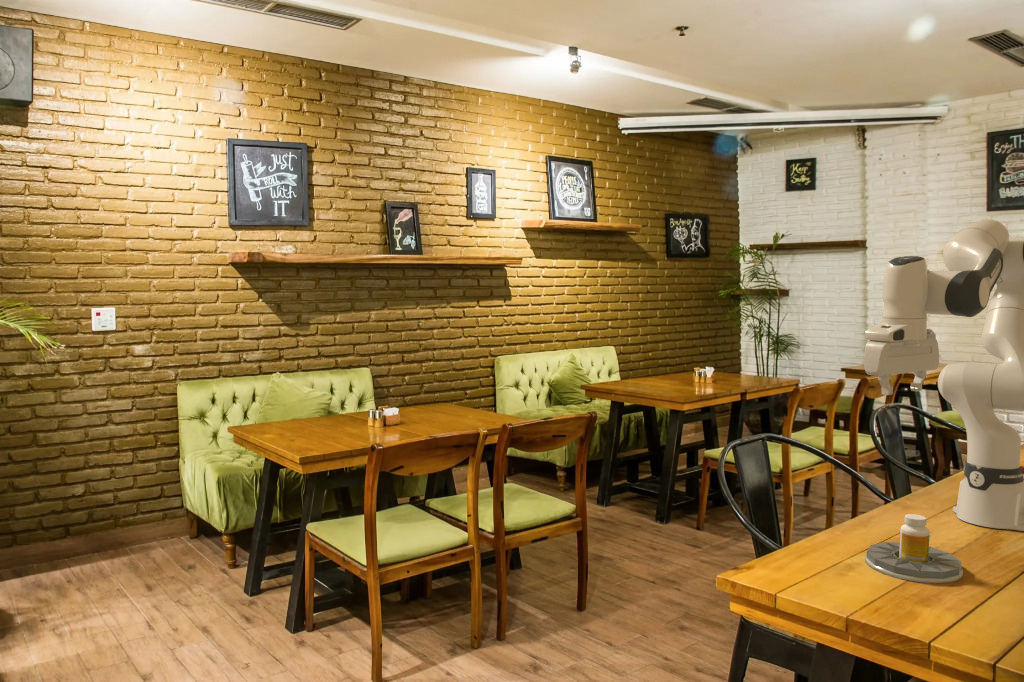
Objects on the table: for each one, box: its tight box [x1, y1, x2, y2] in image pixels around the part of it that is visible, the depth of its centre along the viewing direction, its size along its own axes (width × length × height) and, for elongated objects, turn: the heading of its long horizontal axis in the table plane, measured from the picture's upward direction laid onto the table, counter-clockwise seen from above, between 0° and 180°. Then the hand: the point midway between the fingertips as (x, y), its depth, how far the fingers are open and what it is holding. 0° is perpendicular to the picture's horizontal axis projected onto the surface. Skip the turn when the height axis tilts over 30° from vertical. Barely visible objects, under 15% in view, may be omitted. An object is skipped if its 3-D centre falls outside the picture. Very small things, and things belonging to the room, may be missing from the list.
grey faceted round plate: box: [864, 541, 964, 584], centre depth 161 cm, size 18×18×2 cm
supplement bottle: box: [899, 513, 931, 562], centre depth 161 cm, size 5×5×10 cm
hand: (901, 392), depth 172 cm, fingers open, 8 cm apart
